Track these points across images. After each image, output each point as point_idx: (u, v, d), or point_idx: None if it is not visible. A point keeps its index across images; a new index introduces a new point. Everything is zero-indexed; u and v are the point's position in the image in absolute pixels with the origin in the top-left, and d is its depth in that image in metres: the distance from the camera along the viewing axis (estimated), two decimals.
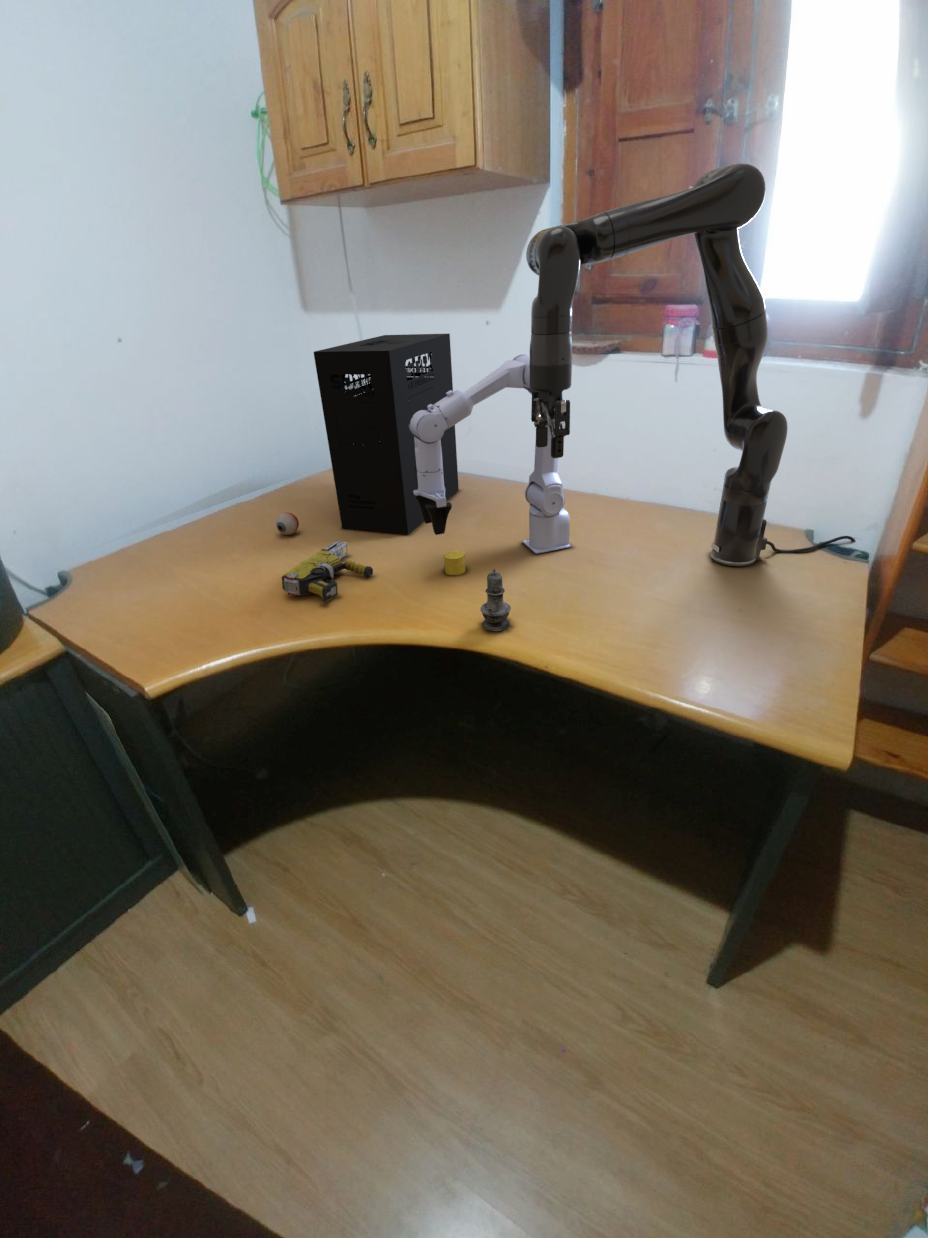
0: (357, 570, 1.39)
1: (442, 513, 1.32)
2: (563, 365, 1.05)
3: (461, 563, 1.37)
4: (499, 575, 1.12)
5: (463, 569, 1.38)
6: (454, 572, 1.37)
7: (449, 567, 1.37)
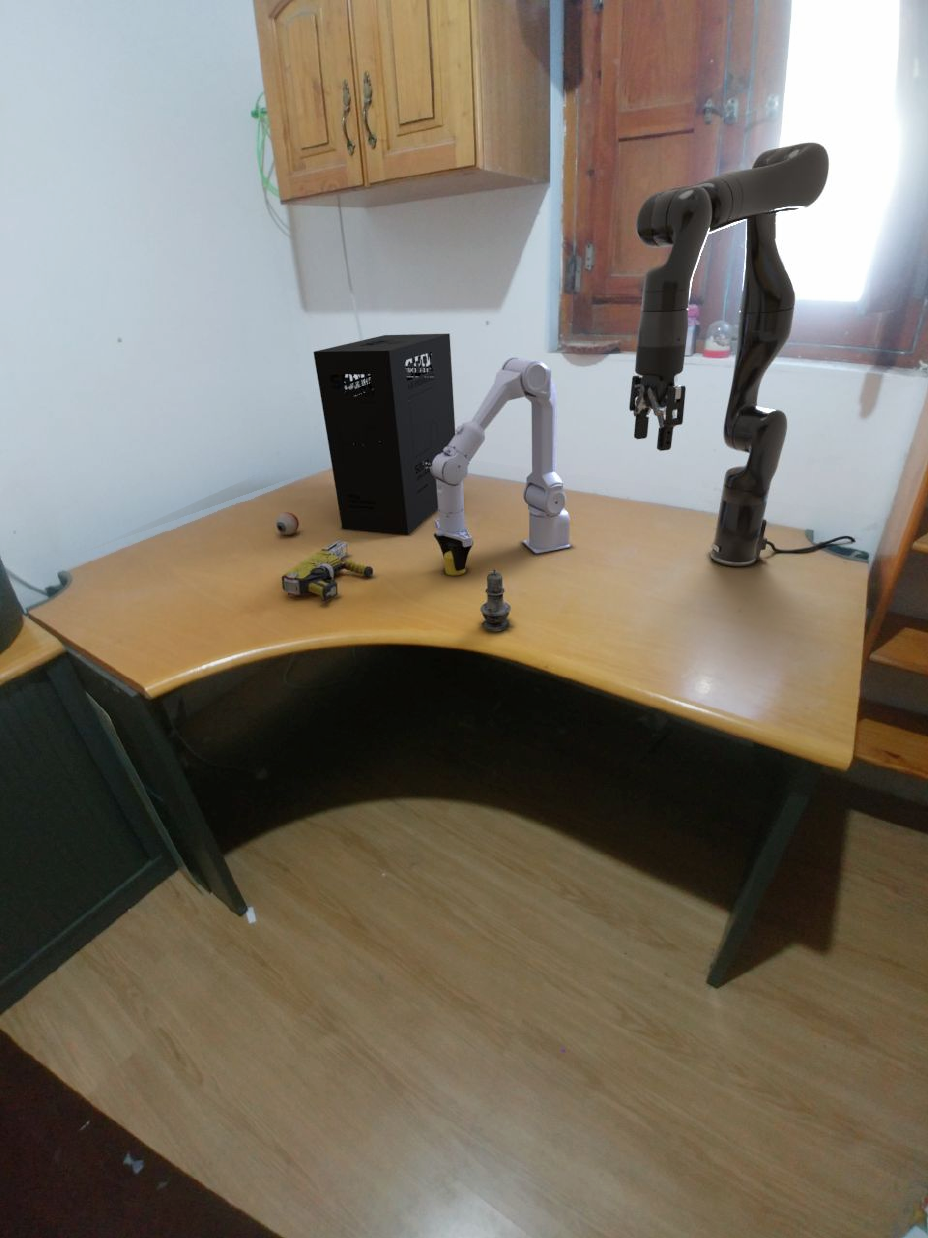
0: (357, 570, 1.39)
1: (463, 550, 1.35)
2: (678, 346, 0.94)
3: None
4: (499, 575, 1.12)
5: (463, 569, 1.38)
6: (454, 572, 1.37)
7: (449, 568, 1.37)
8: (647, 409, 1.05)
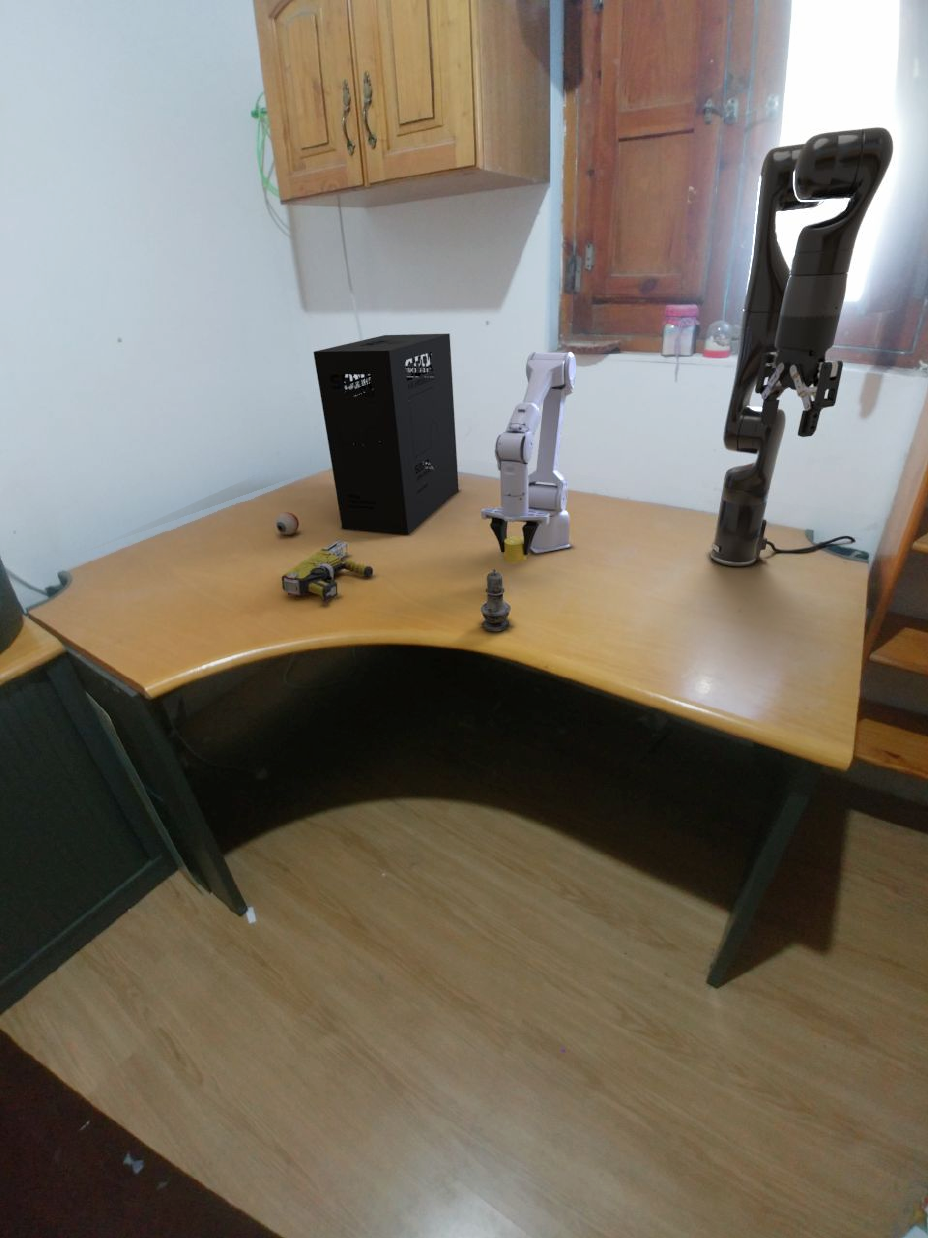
0: (357, 570, 1.39)
1: None
2: (835, 316, 0.82)
3: None
4: (499, 575, 1.12)
5: None
6: (522, 558, 1.30)
7: (516, 555, 1.29)
8: (778, 391, 0.93)
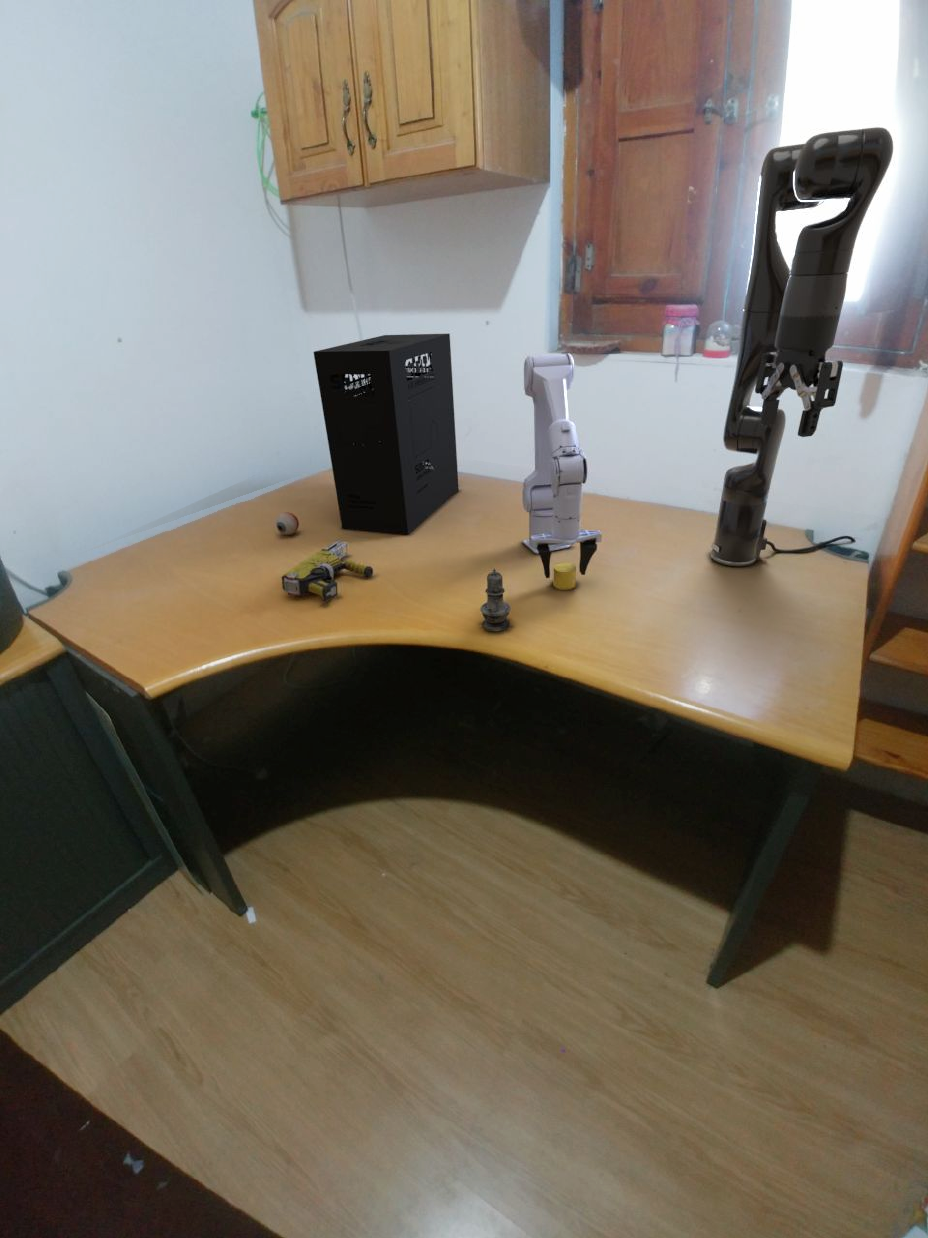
0: (357, 570, 1.39)
1: None
2: (835, 316, 0.82)
3: None
4: (499, 575, 1.12)
5: None
6: (574, 583, 1.30)
7: (571, 581, 1.28)
8: (778, 391, 0.93)
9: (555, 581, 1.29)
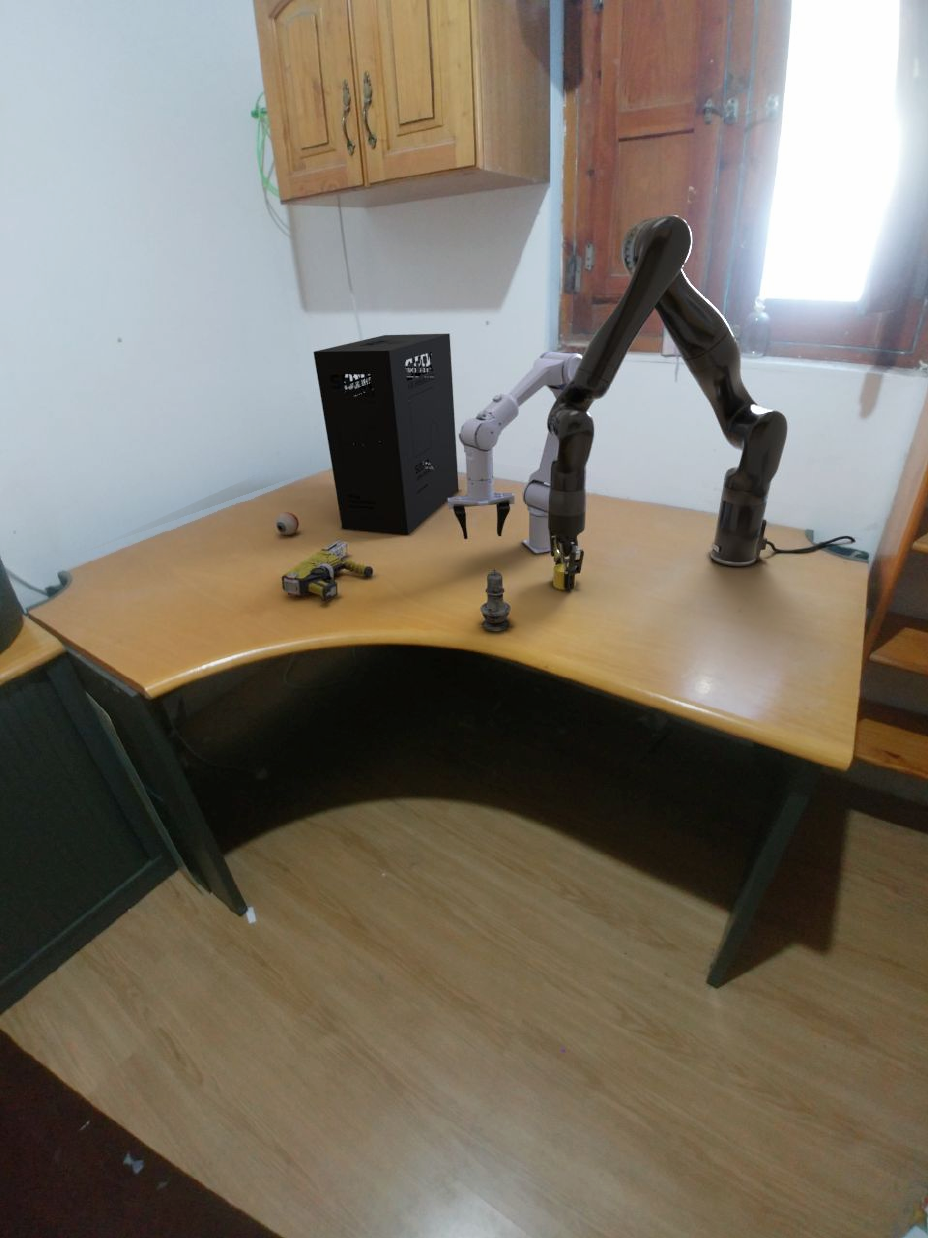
0: (357, 570, 1.39)
1: None
2: (578, 515, 1.20)
3: None
4: (499, 575, 1.12)
5: None
6: None
7: None
8: None
9: (555, 581, 1.29)
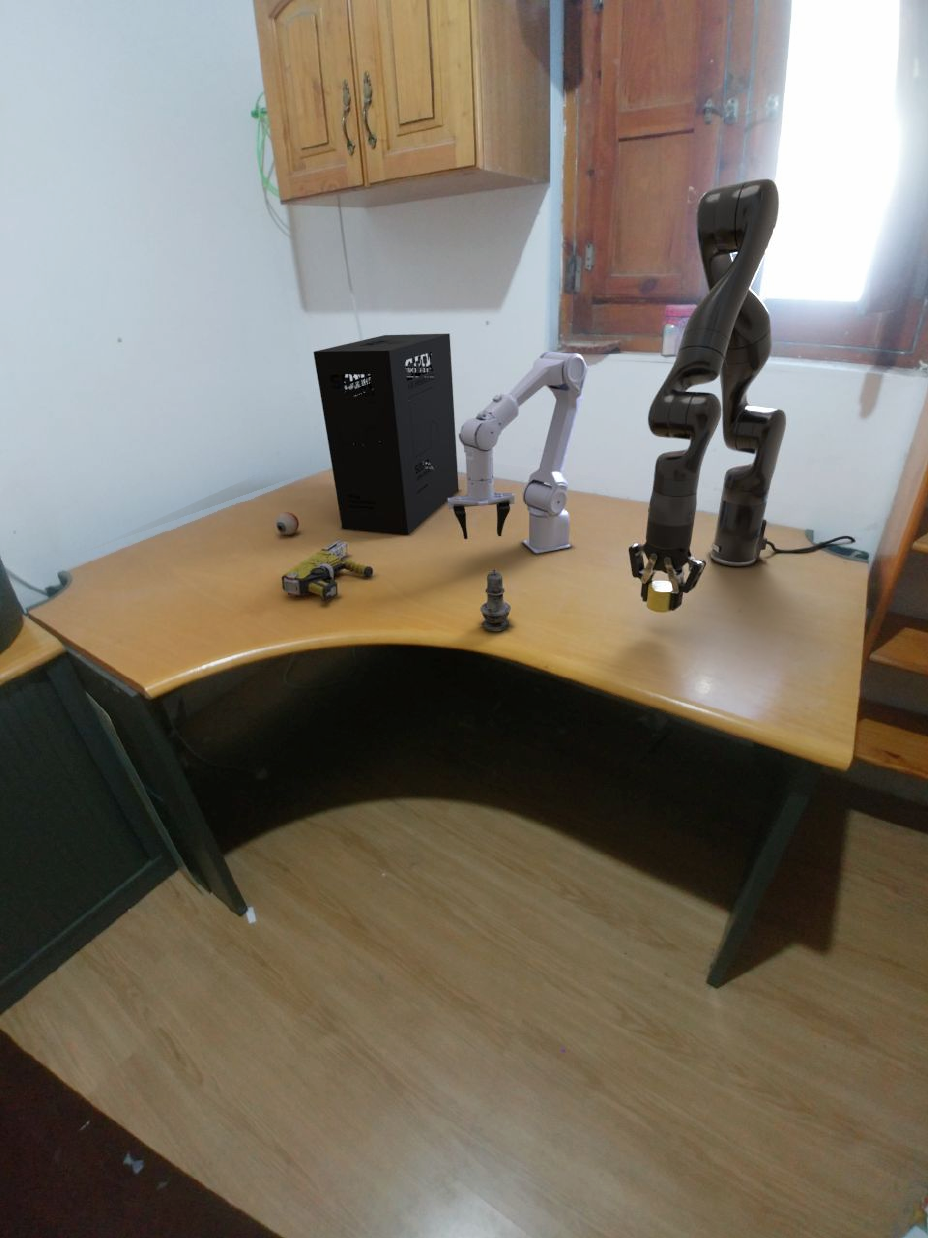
0: (357, 570, 1.39)
1: None
2: (693, 521, 1.00)
3: None
4: (499, 575, 1.12)
5: None
6: None
7: None
8: (652, 573, 1.10)
9: (656, 605, 1.08)
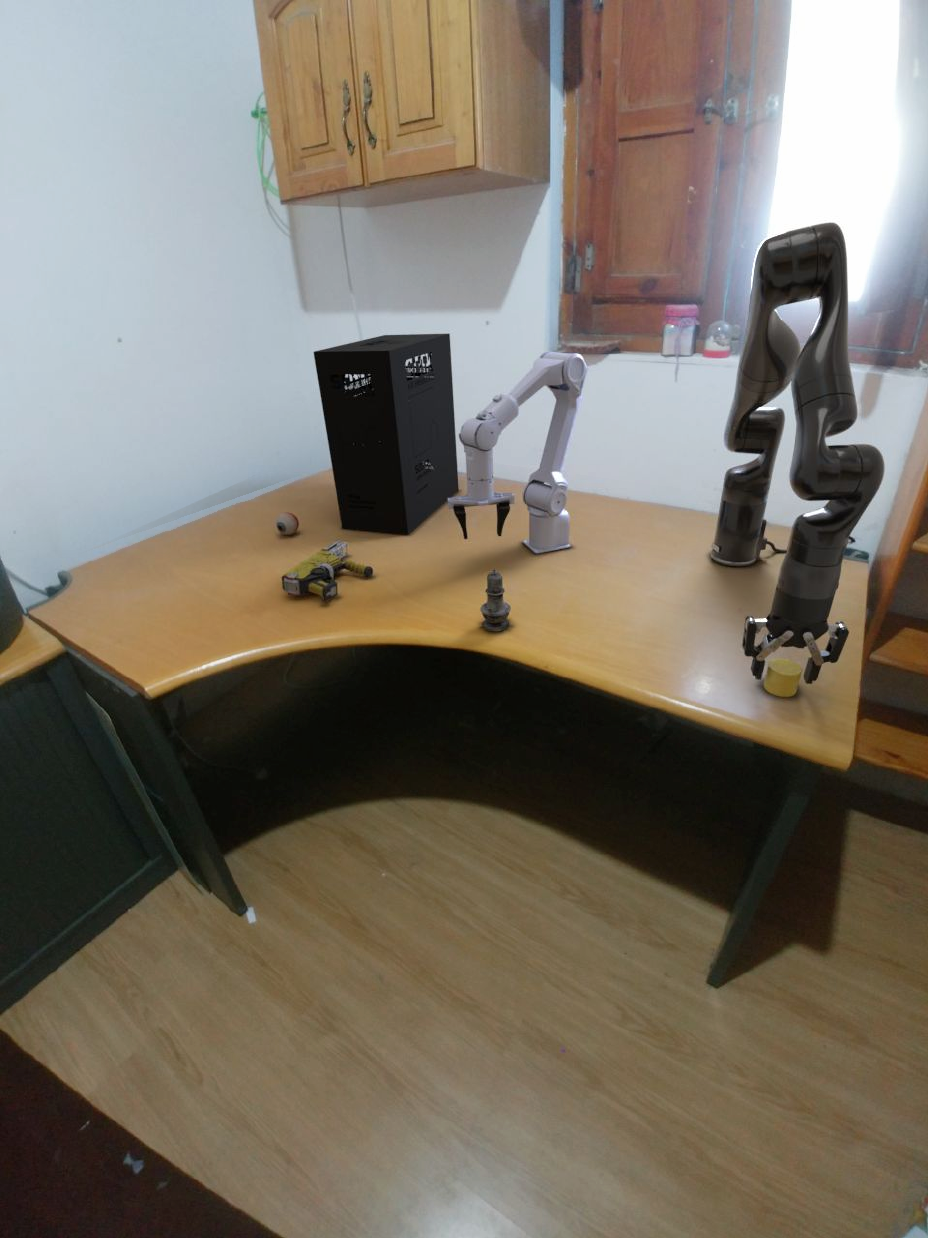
0: (357, 570, 1.39)
1: None
2: None
3: None
4: (499, 575, 1.12)
5: None
6: None
7: None
8: (763, 648, 0.94)
9: (788, 689, 0.93)
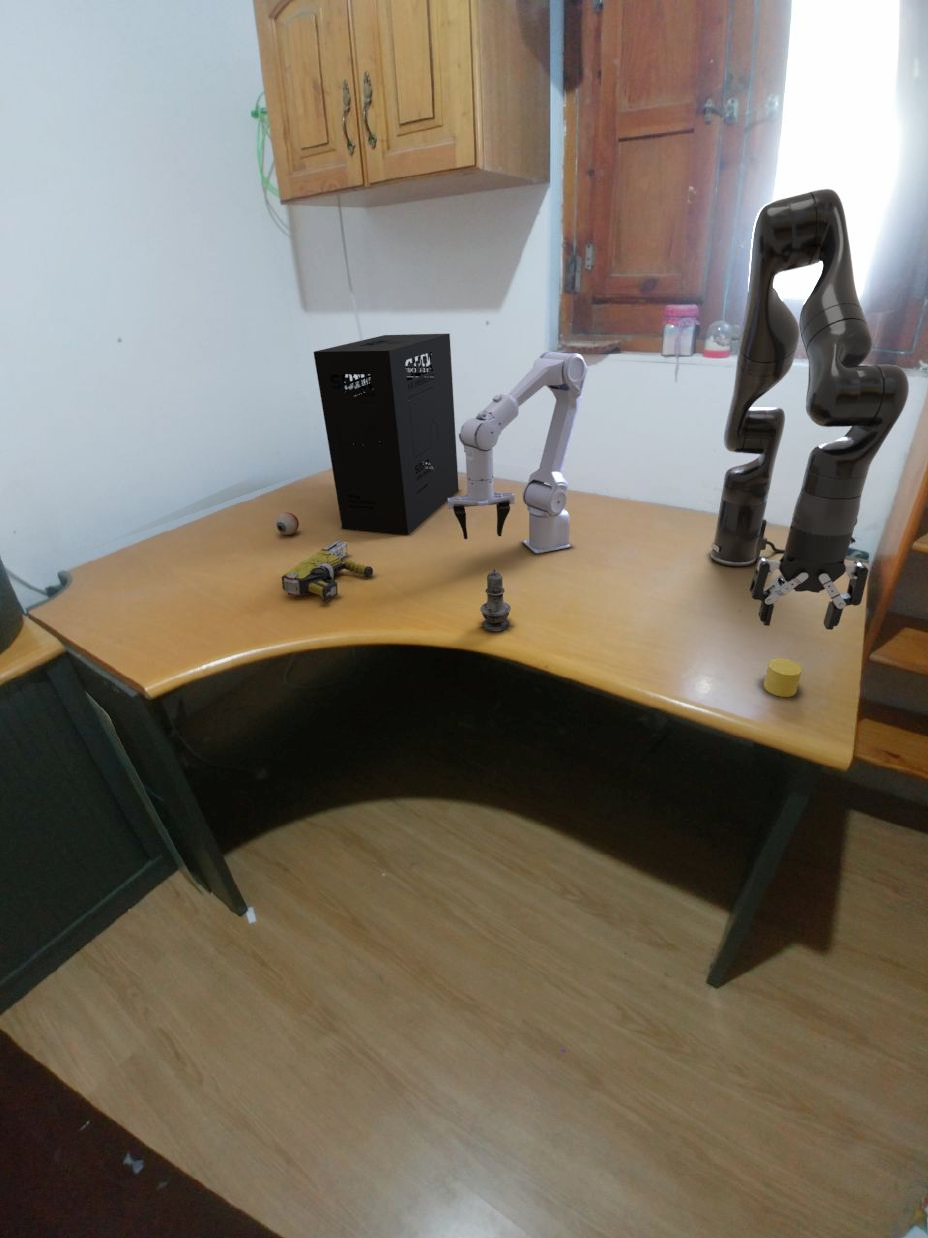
0: (357, 570, 1.39)
1: None
2: None
3: None
4: (499, 575, 1.12)
5: None
6: None
7: None
8: (772, 591, 0.89)
9: (788, 689, 0.93)
